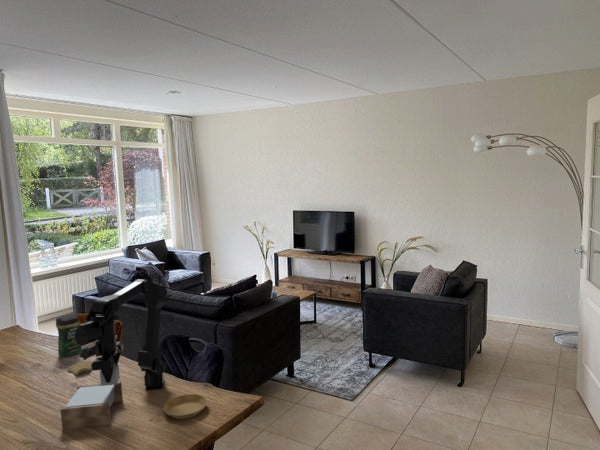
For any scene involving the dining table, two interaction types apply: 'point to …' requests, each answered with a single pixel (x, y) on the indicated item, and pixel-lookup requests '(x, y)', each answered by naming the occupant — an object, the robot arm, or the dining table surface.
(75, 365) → the pottery shard
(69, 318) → the coffee jar
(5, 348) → the dining table surface
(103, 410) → the frame
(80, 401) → the trapdoor
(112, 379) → the grey cube
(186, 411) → the plant saucer
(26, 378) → the dining table surface
